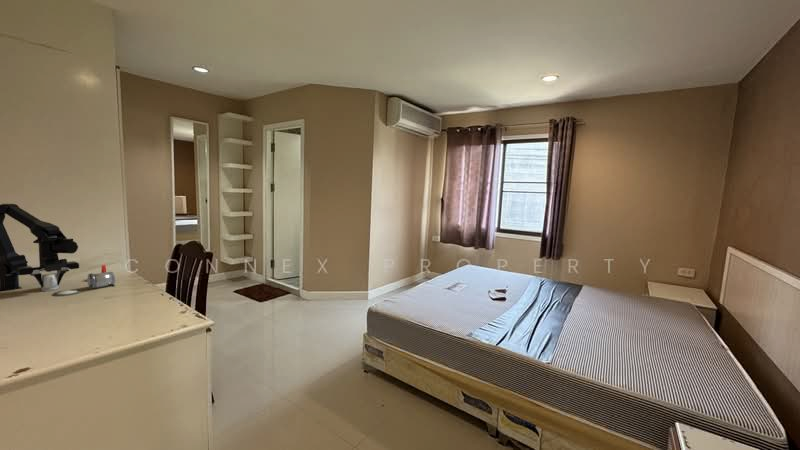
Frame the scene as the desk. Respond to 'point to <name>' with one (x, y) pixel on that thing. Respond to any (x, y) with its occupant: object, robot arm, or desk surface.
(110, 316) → the desk surface
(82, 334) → the desk surface
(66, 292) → the flange
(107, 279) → the grey rounded block
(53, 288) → the white knob
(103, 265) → the bracket
